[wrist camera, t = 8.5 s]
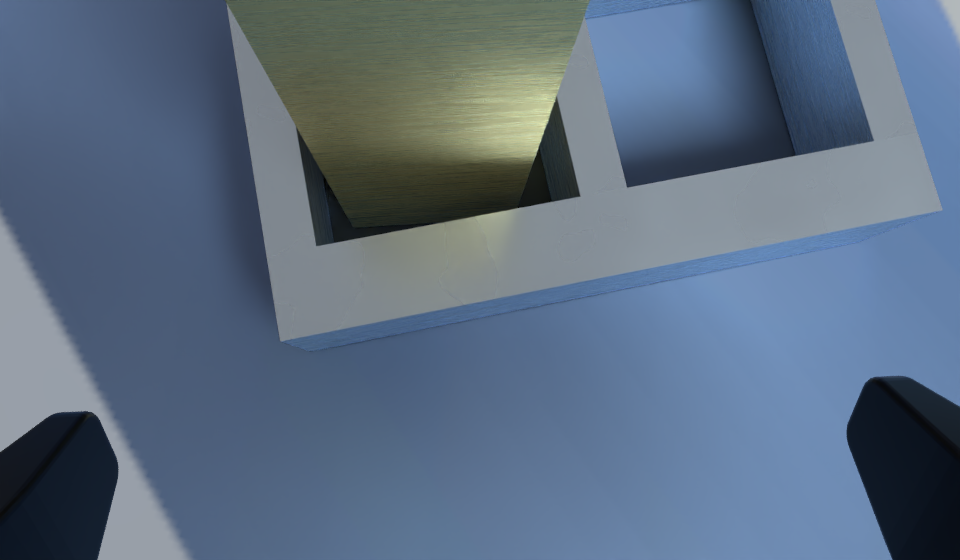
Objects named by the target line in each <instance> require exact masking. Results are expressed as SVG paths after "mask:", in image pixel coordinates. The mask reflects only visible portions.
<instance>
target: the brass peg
mask: <svg viewBox="0 0 960 560" xmlns="http://www.w3.org/2000/svg"><path fill="white" fill-rule="evenodd" d="M225 1H226V3H227V5H228V7H229V8H230V10H231V12H232V14H233V15H234V17H235V19H236V21H237V22H238V24H239V26H240V28H241V30H242V31H243V33H244V35H245V37H246V38H247V40H248V42H249V44H250V45H251V47H252V49H253V51H254V53H255V54H256V56H257V58H258V60H259V61H260V63H261V65H262V67H263V69H264V70H265V72H266V74H267V76H268V77H269V79H270V81H271V83H272V84H273V86H274V88H275V90H276V92H277V93H278V95H279V97H280V99H281V100H282V102H283V104H284V106H285V107H286V109H287V111H288V113H289V115H290V116H291V118H292V120H293V122H294V123H295V125H296V127H297V129H298V131H299V132H300V134H301V136H302V138H303V139H304V141H305V143H306V145H307V146H308V148H309V150H310V152H311V154H312V155H313V157H314V159H315V161H316V162H317V164H318V166H319V168H320V169H321V171H322V173H323V175H324V177H325V178H326V180H327V182H328V184H329V185H330V187H331V189H332V191H333V192H334V194H335V196H336V198H337V200H338V201H339V203H340V205H341V207H342V208H343V210H344V212H345V214H346V216H347V217H348V219H349V221H350V223H351V224H352V226H353V228H363V227H378V226H392V225H407V224H421V223H436V222H448V221H454V220H459V219H464V218H469V217H475V216H480V215H485V214H491V213H496V212H501V211H507V210H512V209H517V208H518V205H519V202H520V199H521V196H522V194H523V191H524V188H525V185H526V182H527V179H528V176H529V173H530V171H531V168H532V165H533V162H534V159H535V156H536V153H537V151H538V148H539V145H540V142H541V139H542V136H543V133H544V130H545V128H546V125H547V122H548V119H549V116H550V113H551V110H552V108H553V105H554V102H555V99H556V96H557V93H558V90H559V87H560V85H561V82H562V79H563V76H564V73H565V70H566V67H567V65H568V62H569V59H570V56H571V53H572V50H573V47H574V44H575V42H576V39H577V36H578V33H579V30H580V27H581V24H582V22H583V19H584V16H585V13H586V10H587V7H588V4H589V1H590V0H225Z"/></svg>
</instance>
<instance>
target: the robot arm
mask: <svg viewBox="0 0 960 560" xmlns="http://www.w3.org/2000/svg"><path fill="white" fill-rule="evenodd" d="M847 441H848V445H849V448H850V451H851V453H852V456H853V459H854V461H855V464H856V466H857V469H858V472H859V474H860V477H861V480H862V482H863V485H864V487H865V490H866V493H867V495H868V498H869V501H870V503H871V506H872V508H873V511H874V514H875V516H876V519H877V522H878V524H879V527H880V530H881V532H882V535H883V537H884V540H885V543H886V545H887V547H888V550H889V552H890V555H891V557H892V559H893V560H960V406H958V405H956V404H954V403H953V402H951V401H949V400H947V399H946V398H944V397H942V396H941V395H939V394H937V393H935V392H934V391H932V390H930V389H929V388H927V387H925V386H923V385H922V384H920V383H918V382H916V381H915V380H913V379H911V378H909V377H905V376H884V377H873V378H871V379H869V380H868V381H867V382H866V383H865V384H864V386H863V389H862V391H861V393H860V396H859V398H858V400H857V403H856V405H855V407H854V410H853V412H852V415H851V417H850V419H849V422H848V425H847ZM117 479H118V462H117V458H116V456H115V454H114V451H113V449H112V447H111V444H110V442H109V440H108V438H107V436H106V433H105V431H104V429H103V427H102V425H101V422H100V420H99V419H98V417H97V416H96V415H94V414H93V413H92V412H88V411H84V412H61V413H56V414H53V415H51V416H49V417H48V418H46V419H45V420H43V421H42V422H41V423H39V424H38V425H36V426H35V427H34V428H32V429H31V430H30V431H28V432H27V433H26V434H24V435H23V436H22V437H20V438H19V439H18V440H16V441H15V442H14V443H12V444H11V445H10V446H8V447H7V448H5V449H4V450H3V451H1V452H0V560H97V559H98V555H99V551H100V547H101V543H102V539H103V535H104V531H105V527H106V524H107V520H108V515H109V512H110V508H111V504H112V500H113V496H114V491H115V488H116V484H117Z"/></svg>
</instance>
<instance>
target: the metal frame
mask: <svg viewBox="0 0 960 560" xmlns="http://www.w3.org/2000/svg"><path fill="white" fill-rule="evenodd" d="M686 1H692V0H590V1H589V4H588V7H587V10H586V13H585V16H584V19H583V22H582V24H581V27H580V30H579V33H578V36H577V39H576V42H575V44H574V47H573V50H572V53H571V56H570V59H569V62H568V65H567V67H566V70H565V73H564V76H563V79H562V82H561V85H560V87H559V90H558V93H557V96H556V99H555V102H554V105H553V108H552V110H551V113H550V116H549V119H548V122H547V125H546V128H545V130H544V133H543V136H542V139H541V142H540V145H539V149H540V153H541V157H542V162H543V166H544V170H545V175H546V179H547V183H548V188H549V192H550V197H551V201H552V202H549V203H544V204H538V205H533V206H528V207H522V208H517V209H512V210H507V211H501V212H496V213H491V214H485V215H480V216H475V217H469V218H464V219H459V220H454V221H448V222H443V223H438V224H432V225H427V226H422V227H416V228H411V229H406V230H401V231H395V232H390V233H385V234H379V235H374V236H369V237H363V238H358V239H353V240H348V241H342V242H337V243H334V238H333V232H332V226H331V220H330V215H329V209H328V203H327V198H326V192H325V186H324V181H323V175H322V171H321V169H320V168H319V166H318V164H317V162H316V161H315V159H314V157H313V155H312V154H311V152H310V150H309V148H308V146H307V145H306V143H305V141H304V139H303V138H302V136H301V134H300V132H299V131H298V129H297V127H296V125H295V123H294V122H293V120H292V118H291V116H290V115H289V113H288V111H287V109H286V107H285V106H284V104H283V102H282V100H281V99H280V97H279V95H278V93H277V92H276V90H275V88H274V86H273V84H272V83H271V81H270V79H269V77H268V76H267V74H266V72H265V70H264V69H263V67H262V65H261V63H260V61H259V60H258V58H257V56H256V54H255V53H254V51H253V49H252V47H251V45H250V44H249V42H248V40H247V38H246V37H245V35H244V33H243V31H242V30H241V28H240V26H239V24H238V22H237V21H236V19H235V17H234V15H233V14H232V12H231V10H230V8H229V7H228V5H227V10H228V16H229V23H230V29H231V35H232V41H233V48H234V54H235V60H236V67H237V73H238V79H239V86H240V92H241V98H242V104H243V111H244V117H245V123H246V130H247V136H248V142H249V149H250V155H251V161H252V167H253V174H254V180H255V186H256V193H257V199H258V205H259V211H260V218H261V224H262V230H263V237H264V243H265V249H266V256H267V262H268V268H269V274H270V281H271V287H272V293H273V300H274V306H275V312H276V319H277V325H278V331H279V337H280V342H283V343H286V344H289V345H292V346H295V347H298V348H301V349H304V350H307V351H310V352H312V351H317V350H322V349H327V348H332V347H337V346H342V345H347V344H352V343H357V342H362V341H367V340H372V339H377V338H382V337H387V336H392V335H397V334H402V333H407V332H412V331H417V330H422V329H427V328H432V327H437V326H442V325H447V324H452V323H457V322H462V321H467V320H472V319H477V318H482V317H487V316H492V315H497V314H502V313H507V312H512V311H517V310H522V309H527V308H532V307H537V306H542V305H547V304H552V303H557V302H562V301H567V300H572V299H577V298H582V297H587V296H592V295H597V294H602V293H607V292H612V291H617V290H622V289H627V288H632V287H637V286H642V285H647V284H652V283H657V282H662V281H667V280H672V279H677V278H682V277H687V276H692V275H697V274H702V273H707V272H712V271H717V270H722V269H727V268H732V267H737V266H742V265H747V264H752V263H757V262H762V261H767V260H772V259H777V258H782V257H787V256H792V255H797V254H802V253H807V252H812V251H817V250H822V249H827V248H832V247H837V246H842V245H847V244H852V243H857V242H861V241H864V240H866V239H869V238H872V237H874V236H877V235H879V234H882V233H885V232H887V231H890V230H892V229H895V228H898V227H900V226H903V225H905V224H908V223H911V222H913V221H916V220H918V219H921V218H924V217H926V216H929V215H931V214H934V213H937V212H939V211H942V207H941V204H940V201H939V198H938V194H937V191H936V188H935V185H934V182H933V179H932V176H931V173H930V170H929V167H928V163H927V160H926V157H925V154H924V151H923V148H922V145H921V142H920V139H919V136H918V132H917V129H916V126H915V123H914V120H913V117H912V114H911V111H910V108H909V105H908V101H907V98H906V95H905V92H904V89H903V86H902V83H901V80H900V77H899V74H898V70H897V67H896V64H895V61H894V58H893V55H892V52H891V49H890V46H889V43H888V39H887V36H886V33H885V30H884V27H883V24H882V21H881V18H880V15H879V12H878V8H877V5H876V2H875V0H750V1H751V4H752V7H753V11H754V14H755V18H756V21H757V25H758V28H759V32H760V35H761V38H762V42H763V45H764V49H765V52H766V56H767V59H768V62H769V66H770V69H771V73H772V76H773V80H774V83H775V86H776V90H777V93H778V97H779V100H780V104H781V107H782V111H783V114H784V117H785V121H786V124H787V128H788V131H789V135H790V138H791V141H792V145H793V148H794V152H795V155H796V156H793V157H787V158H782V159H777V160H771V161H766V162H761V163H756V164H750V165H745V166H740V167H734V168H729V169H724V170H719V171H713V172H708V173H703V174H697V175H692V176H687V177H681V178H676V179H671V180H666V181H660V182H655V183H650V184H644V185H639V186H634V187H628V188H627V186H626V181H625V177H624V173H623V169H622V165H621V161H620V157H619V153H618V149H617V145H616V141H615V137H614V133H613V129H612V125H611V121H610V117H609V113H608V109H607V105H606V101H605V97H604V93H603V89H602V85H601V81H600V77H599V73H598V69H597V65H596V61H595V57H594V53H593V49H592V45H591V41H590V36H589V32H588V28H587V24H586V20H585V19H586V18H592V17H598V16H603V15H609V14H615V13H621V12H627V11H633V10H639V9H645V8H651V7H657V6H663V5H669V4H674V3H680V2H686ZM226 4H227V3H226Z"/></svg>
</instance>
